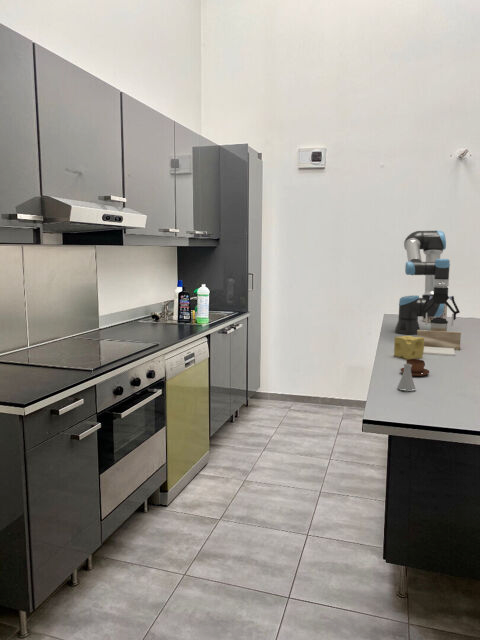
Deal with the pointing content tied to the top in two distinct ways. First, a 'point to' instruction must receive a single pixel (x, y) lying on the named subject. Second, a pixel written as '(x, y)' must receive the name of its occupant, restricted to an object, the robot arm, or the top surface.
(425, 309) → the robot arm
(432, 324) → the coffee cup
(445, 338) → the wooden screen
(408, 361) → the cup and saucer
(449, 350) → the display pad
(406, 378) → the flask
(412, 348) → the cheese
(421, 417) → the top surface
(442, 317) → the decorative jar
